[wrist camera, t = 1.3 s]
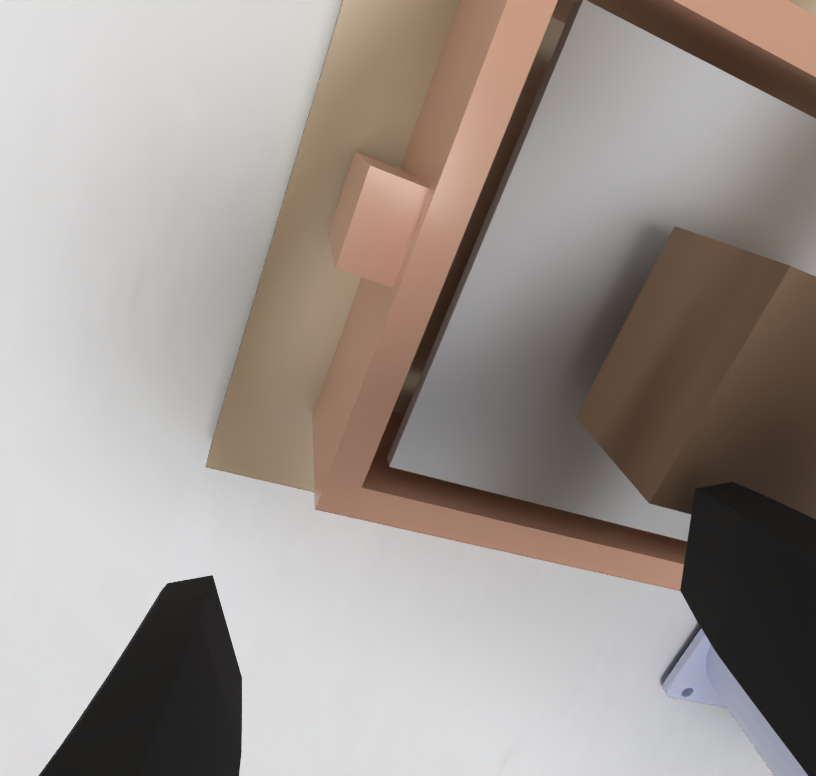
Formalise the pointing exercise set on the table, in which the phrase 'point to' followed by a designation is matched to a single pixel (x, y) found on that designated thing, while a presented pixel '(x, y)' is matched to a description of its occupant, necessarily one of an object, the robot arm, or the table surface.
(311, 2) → the table surface
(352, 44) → the light wood rectangular frame
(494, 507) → the shallow wooden crate
